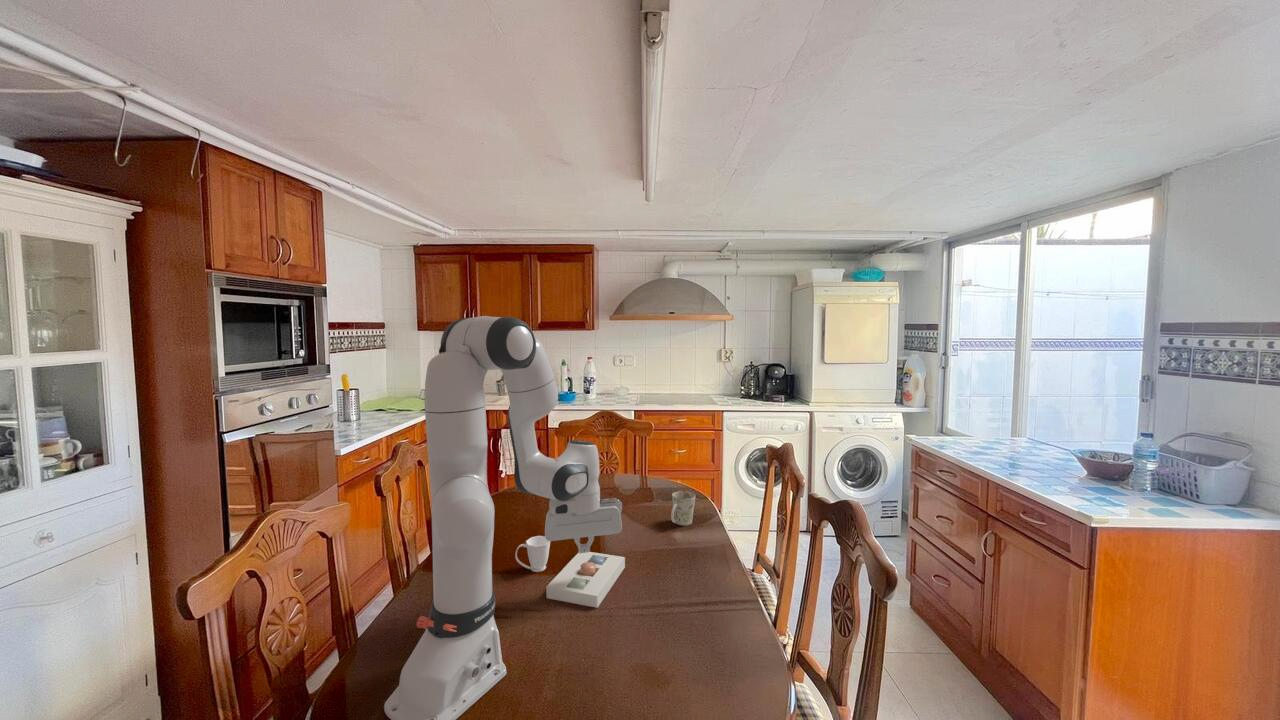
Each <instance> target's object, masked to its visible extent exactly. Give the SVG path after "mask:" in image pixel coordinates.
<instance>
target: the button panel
mask: <svg viewBox="0 0 1280 720" xmlns="http://www.w3.org/2000/svg"><path fill="white" fill-rule="evenodd" d="M593 556H603V557H604V563H603V564H602V565H598V564H595V575H594V576H593V577H591V576H585V575H581V564H583V563H585V562H590V558H591V557H593ZM625 568H626V557H625V556H621V555H620V556H619V555H611V554H607V553H606V554H605V553H599V552H593V551H590V552H587V553H579V551H578V552H577V554H576V555H575V556H573V558H571V560H570V561H569V562H567V564H566V565H565V566H564V567H563V568H562V570H561V571H559V573H558V574H556V576H555V577H554V578H553V579H552V580H551V581H550V582H549V583H548V584H547V585H546V589H545V590H546V597H545V598H546V599H547V600H548V599H550V600H555V601H559V602H564V603H571V604H576V605H581V606H586V607H592V608H599V606H600V605H601V603H602V601H603V600H604V599H605V598H606V596H607V594H608V593H609V591H611V588H612V587H613V586H614V584H615V583H616V581H617V580H618V578H619V576H620V575H621V574H622V572H623V571H624V569H625ZM576 578H582V579H584V580H585V581H586V586H585V587H584V589H583V590H581V589H576V588H570V582H571V580H573V579H576Z"/></svg>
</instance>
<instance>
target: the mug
mask: <svg viewBox="0 0 1280 720" xmlns="http://www.w3.org/2000/svg"><path fill="white" fill-rule="evenodd" d="M671 498H672V499H671V500H672V508H671V511H670V520H671V521H672V523H674V524H676V525H679V526H685V527H686V526H689V525H691V524H692V523H693V517H694V510H695V503H696V494H695V493H694V492H691V491H687V490H686V491H685V490H681V491H679V490H678V491H675V492H672V494H671Z"/></svg>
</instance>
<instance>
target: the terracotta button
mask: <svg viewBox="0 0 1280 720" xmlns="http://www.w3.org/2000/svg"><path fill="white" fill-rule="evenodd" d="M581 575H585V576H591V577H593V576H594V575H595V564H594V563H592V562H585V563H583V564H581Z"/></svg>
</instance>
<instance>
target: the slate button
mask: <svg viewBox="0 0 1280 720" xmlns="http://www.w3.org/2000/svg"><path fill="white" fill-rule="evenodd" d="M590 562H592V563H594V564H598V565H602V564H603V563H604V557H603V556H593V557H591V558H590Z"/></svg>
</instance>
